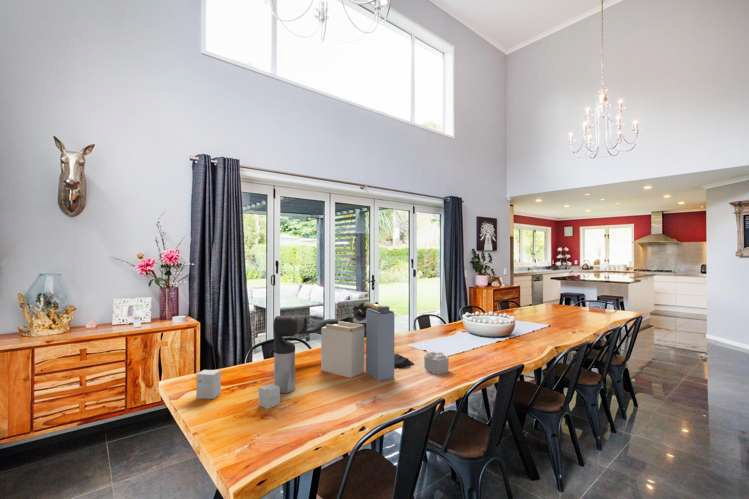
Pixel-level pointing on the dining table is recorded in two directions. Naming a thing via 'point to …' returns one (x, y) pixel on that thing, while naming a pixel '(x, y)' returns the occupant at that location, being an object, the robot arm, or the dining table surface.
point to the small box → (208, 384)
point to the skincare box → (269, 396)
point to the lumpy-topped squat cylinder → (436, 362)
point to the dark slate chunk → (401, 361)
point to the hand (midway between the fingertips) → (370, 304)
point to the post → (380, 344)
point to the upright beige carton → (342, 349)
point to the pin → (377, 307)
